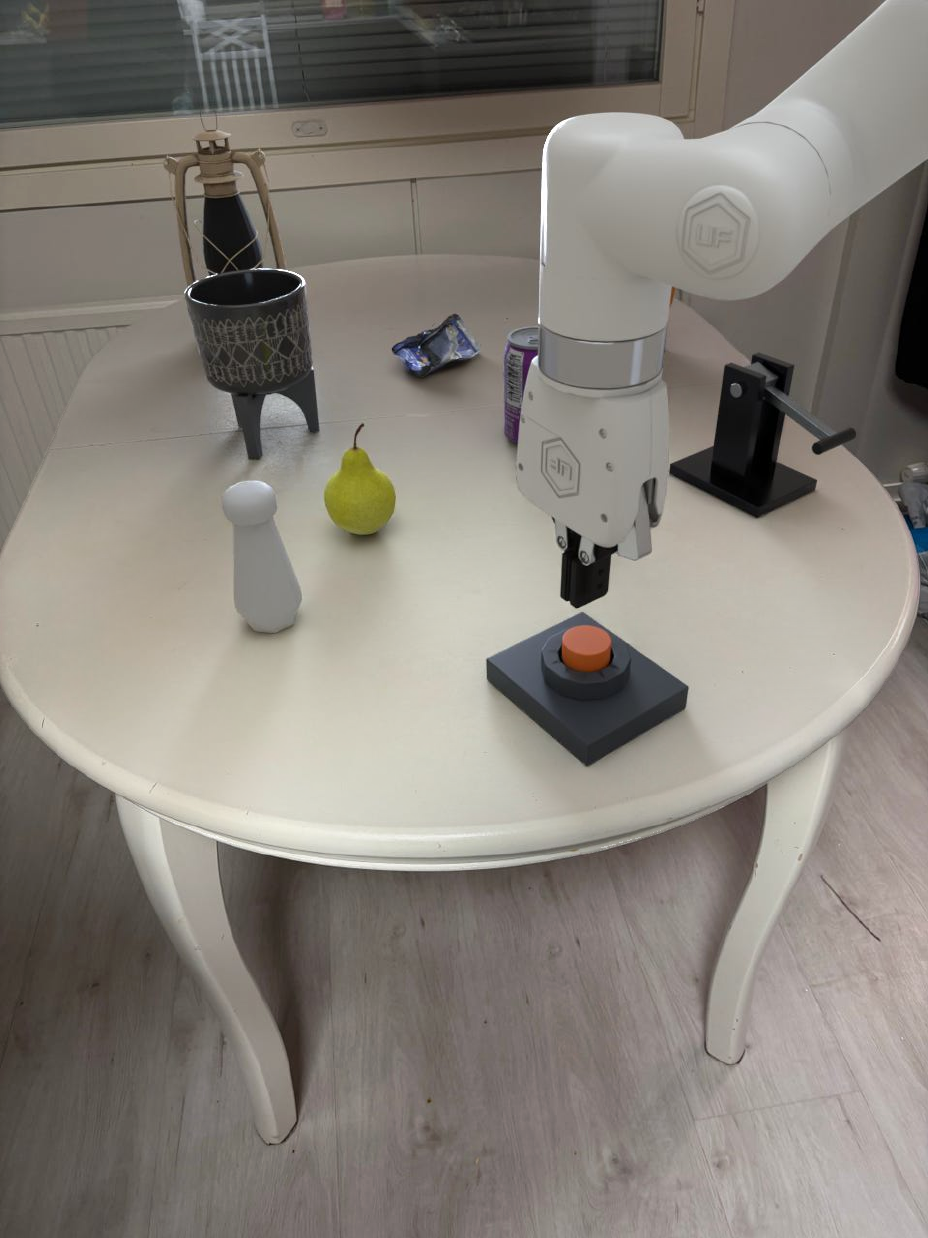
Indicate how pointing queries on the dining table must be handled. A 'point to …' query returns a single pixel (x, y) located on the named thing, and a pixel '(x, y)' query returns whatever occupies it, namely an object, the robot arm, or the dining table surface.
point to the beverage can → (517, 375)
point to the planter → (255, 342)
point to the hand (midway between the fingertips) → (584, 596)
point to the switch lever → (802, 415)
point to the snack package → (437, 347)
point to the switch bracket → (747, 445)
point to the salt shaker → (260, 559)
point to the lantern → (223, 208)
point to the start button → (586, 648)
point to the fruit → (359, 493)
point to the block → (586, 691)
